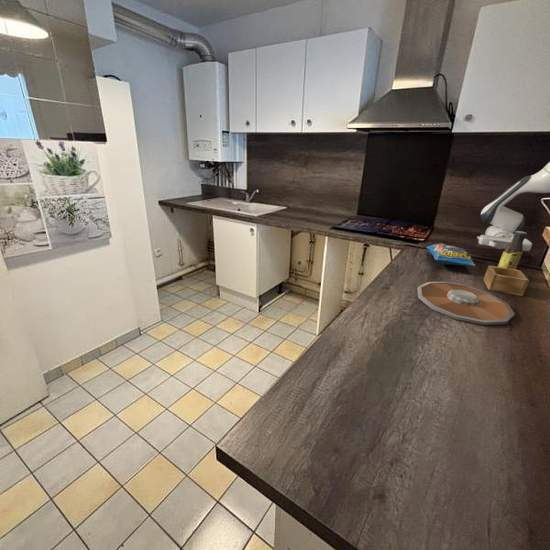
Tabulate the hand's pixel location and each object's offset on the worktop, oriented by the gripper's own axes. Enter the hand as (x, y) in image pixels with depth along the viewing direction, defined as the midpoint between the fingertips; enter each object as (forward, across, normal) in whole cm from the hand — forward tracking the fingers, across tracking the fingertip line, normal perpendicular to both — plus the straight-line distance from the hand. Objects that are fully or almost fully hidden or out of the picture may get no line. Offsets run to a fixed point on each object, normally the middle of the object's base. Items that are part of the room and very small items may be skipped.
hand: (507, 247), depth 132 cm
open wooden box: (+24, -4, +11) cm, 27 cm away
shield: (+47, -21, +11) cm, 53 cm away
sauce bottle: (+8, 0, +11) cm, 14 cm away
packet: (+4, -22, +11) cm, 25 cm away
